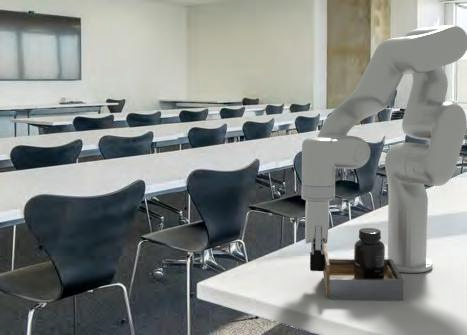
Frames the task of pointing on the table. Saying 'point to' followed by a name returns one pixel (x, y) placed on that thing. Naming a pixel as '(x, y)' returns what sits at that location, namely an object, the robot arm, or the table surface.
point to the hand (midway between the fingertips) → (317, 269)
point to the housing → (366, 285)
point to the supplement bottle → (369, 255)
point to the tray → (344, 271)
